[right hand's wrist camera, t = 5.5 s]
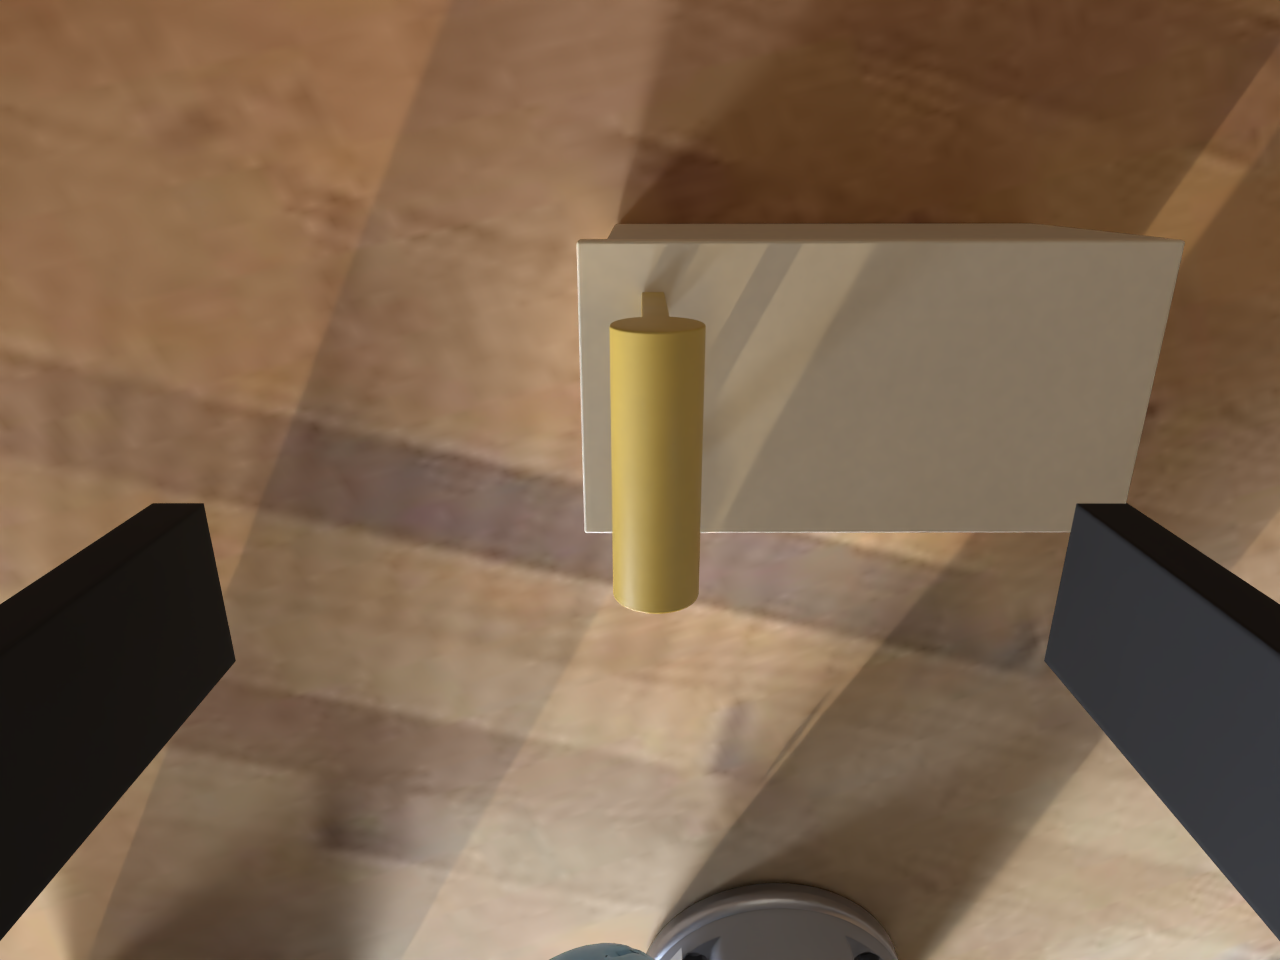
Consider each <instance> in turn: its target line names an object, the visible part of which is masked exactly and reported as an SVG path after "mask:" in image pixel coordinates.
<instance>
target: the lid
mask: <svg viewBox="0 0 1280 960" xmlns="http://www.w3.org/2000/svg"><path fill="white" fill-rule="evenodd" d="M1184 244H1185V241H1183V240H1178V239H1169V238H1053V239H580V240H579V241H578V242H577V278H578V314H579V350H580V386H581V423H582V459H583V495H584V530H585V532H586V533H612V537H613V594H614V597H615V599H616V600H617V601H618V602H619V603H620V604H621V605H623V606H624V607H626V608H628V609H631V610H634V611H638V612H643V613H651V614H663V613H671V612H675V611H679V610H682V609H684V608H687V607H688V606H690V605H691V604H693V603H694V602H695V601H696V599H697V597H698V594H699V560H700V533H857V532H1071V528H1072V523H1073V518H1074V513H1075V508H1076V503H1126V501H1127V496H1128V492H1129V487H1130V483H1131V479H1132V474H1133V470H1134V465H1135V461H1136V457H1137V452H1138V448H1139V443H1140V439H1141V434H1142V430H1143V426H1144V421H1145V417H1146V412H1147V408H1148V403H1149V399H1150V395H1151V390H1152V386H1153V381H1154V377H1155V373H1156V368H1157V364H1158V359H1159V355H1160V350H1161V346H1162V342H1163V337H1164V333H1165V328H1166V324H1167V319H1168V315H1169V311H1170V306H1171V302H1172V297H1173V293H1174V289H1175V284H1176V280H1177V275H1178V271H1179V266H1180V262H1181V258H1182V253H1183V249H1184Z"/></svg>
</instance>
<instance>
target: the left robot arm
mask: <svg viewBox="0 0 1280 960" xmlns="http://www.w3.org/2000/svg"><path fill="white" fill-rule="evenodd" d="M550 960H898V958H897V955H896V952H895V949H894V946H893V943H892V941H891V939H890V937H889V935H888V934H887V932H886V931H885V929H884V928H883V927H882V926H881V924H880V923H879V922H878V921H877V920H876V919H875V918H874V917H873V916H872V915H871V914H870V913H869V912H867V911H866V910H864V909H863V908H862V907H860V906H859V905H857V904H856V903H854V902H852V901H850V900H848V899H846V898H844V897H842V896H840V895H838V894H835V893H832V892H829V891H826V890H823V889H819V888H816V887H810V886H805V885H798V884H787V883H768V884H756V885H748V886H743V887H738V888H734V889H730V890H726V891H723V892H720V893H717V894H715V895H712V896H710V897H707V898H705V899H703V900H701V901H699V902H697V903H695V904H693V905H692V906H690V907H688V908H687V909H685V910H684V911H682V912H681V913H679V914H678V915H677V916H676V917H674V918H673V919H672V920H671V921H670V922H669V923H668V924H667V925H666V926H665V927H664V928H663V929H662V930H661V931H660V932H659V934H658V935H657V936H656V938H655V939H654V941H653V942H652V944H651V945H650V947H649V949H648V951H647V953H646V954H645V953H644V952H642V951H640V950H637V949H633V948H631V947H629V946H626V945H621V944H615V943H600V944H593V945H586V946H582V947H578V948H575V949H572V950H569V951H567V952H564V953H562V954H560V955H557V956H555V957H553V958H552V959H550Z"/></svg>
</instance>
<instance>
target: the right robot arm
mask: <svg viewBox="0 0 1280 960" xmlns="http://www.w3.org/2000/svg"><path fill="white" fill-rule="evenodd" d="M235 661H236V660H235V655H234V650H233V645H232V640H231V635H230V631H229V626H228V621H227V616H226V611H225V606H224V601H223V596H222V591H221V586H220V582H219V577H218V572H217V567H216V562H215V557H214V552H213V547H212V542H211V537H210V533H209V528H208V523H207V518H206V513H205V508H204V503H153V504H151V505H150V506H148V507H147V508H145V509H143V510H142V511H140V512H139V513H137V514H136V515H134V516H133V517H131V518H130V519H128V520H127V521H125V522H124V523H122V524H121V525H119V526H118V527H116V528H115V529H113V530H112V531H110V532H109V533H107V534H106V535H104V536H103V537H101V538H100V539H98V540H97V541H95V542H94V543H92V544H91V545H89V546H88V547H86V548H85V549H83V550H82V551H80V552H79V553H77V554H76V555H74V556H73V557H71V558H70V559H68V560H67V561H65V562H64V563H62V564H61V565H59V566H58V567H56V568H55V569H53V570H52V571H50V572H48V573H47V574H45V575H44V576H42V577H41V578H39V579H38V580H36V581H35V582H33V583H32V584H30V585H29V586H27V587H26V588H24V589H23V590H21V591H20V592H18V593H17V594H15V595H14V596H12V597H11V598H9V599H8V600H6V601H5V602H3V603H2V604H0V941H1V939H2V938H3V937H4V936H5V935H6V933H7V932H8V931H9V930H10V929H11V927H12V926H13V925H14V924H15V923H16V921H17V920H18V919H19V918H20V917H21V916H22V914H23V913H24V912H25V911H26V910H27V908H28V907H29V906H30V905H31V904H32V902H33V901H34V900H35V899H36V898H37V897H38V895H39V894H40V893H41V892H42V891H43V889H44V888H45V887H46V886H47V885H48V883H49V882H50V881H51V880H52V879H53V877H54V876H55V875H56V874H57V873H58V872H59V870H60V869H61V868H62V867H63V866H64V864H65V863H66V862H67V861H68V860H69V858H70V857H71V856H72V855H73V854H74V853H75V851H76V850H77V849H78V848H79V847H80V845H81V844H82V843H83V842H84V841H85V839H86V838H87V837H88V836H89V835H90V834H91V832H92V831H93V830H94V829H95V828H96V826H97V825H98V824H99V823H100V822H101V820H102V819H103V818H104V817H105V816H106V814H107V813H108V812H109V811H110V810H111V809H112V807H113V806H114V805H115V804H116V803H117V801H118V800H119V799H120V798H121V797H122V795H123V794H124V793H125V792H126V791H127V790H128V788H129V787H130V786H131V785H132V784H133V782H134V781H135V780H136V779H137V778H138V776H139V775H140V774H141V773H142V772H143V771H144V769H145V768H146V767H147V766H148V765H149V763H150V762H151V761H152V760H153V759H154V757H155V756H156V755H157V754H158V753H159V751H160V750H161V749H162V748H163V747H164V746H165V744H166V743H167V742H168V741H169V740H170V738H171V737H172V736H173V735H174V734H175V732H176V731H177V730H178V729H179V728H180V727H181V725H182V724H183V723H184V722H185V721H186V719H187V718H188V717H189V716H190V715H191V713H192V712H193V711H194V710H195V709H196V707H197V706H198V705H199V704H200V703H201V702H202V700H203V699H204V698H205V697H206V696H207V694H208V693H209V692H210V691H211V690H212V688H213V687H214V686H215V685H216V684H217V683H218V681H219V680H220V679H221V678H222V677H223V675H224V674H225V673H226V672H227V671H228V669H229V668H230V667H231V666H232V665H233V664H234V662H235ZM1044 661H1045V662H1046V664H1047V665H1048V666H1049V667H1050V668H1051V669H1052V671H1053V672H1054V673H1055V674H1056V675H1057V677H1058V678H1059V679H1060V680H1061V681H1062V683H1063V684H1064V685H1065V686H1066V687H1067V688H1068V690H1069V691H1070V692H1071V693H1072V694H1073V696H1074V697H1075V698H1076V699H1077V700H1078V702H1079V703H1080V704H1081V705H1082V706H1083V707H1084V709H1085V710H1086V711H1087V712H1088V713H1089V715H1090V716H1091V717H1092V718H1093V719H1094V721H1095V722H1096V723H1097V724H1098V725H1099V727H1100V728H1101V729H1102V730H1103V731H1104V732H1105V734H1106V735H1107V736H1108V737H1109V738H1110V740H1111V741H1112V742H1113V743H1114V744H1115V746H1116V747H1117V748H1118V749H1119V750H1120V751H1121V753H1122V754H1123V755H1124V756H1125V757H1126V759H1127V760H1128V761H1129V762H1130V763H1131V765H1132V766H1133V767H1134V768H1135V769H1136V771H1137V772H1138V773H1139V774H1140V775H1141V776H1142V778H1143V779H1144V780H1145V781H1146V782H1147V784H1148V785H1149V786H1150V787H1151V788H1152V790H1153V791H1154V792H1155V793H1156V794H1157V795H1158V797H1159V798H1160V799H1161V800H1162V801H1163V803H1164V804H1165V805H1166V806H1167V807H1168V809H1169V810H1170V811H1171V812H1172V813H1173V814H1174V816H1175V817H1176V818H1177V819H1178V820H1179V822H1180V823H1181V824H1182V825H1183V826H1184V828H1185V829H1186V830H1187V831H1188V832H1189V834H1190V835H1191V836H1192V837H1193V838H1194V839H1195V841H1196V842H1197V843H1198V844H1199V845H1200V847H1201V848H1202V849H1203V850H1204V851H1205V853H1206V854H1207V855H1208V856H1209V857H1210V858H1211V860H1212V861H1213V862H1214V863H1215V864H1216V866H1217V867H1218V868H1219V869H1220V870H1221V872H1222V873H1223V874H1224V875H1225V876H1226V877H1227V879H1228V880H1229V881H1230V882H1231V883H1232V885H1233V886H1234V887H1235V888H1236V889H1237V891H1238V892H1239V893H1240V894H1241V895H1242V897H1243V898H1244V899H1245V900H1246V901H1247V902H1248V904H1249V905H1250V906H1251V907H1252V908H1253V910H1254V911H1255V912H1256V913H1257V914H1258V916H1259V917H1260V918H1261V919H1262V920H1263V921H1264V923H1265V924H1266V925H1267V926H1268V927H1269V929H1270V930H1271V931H1272V932H1273V933H1274V935H1275V936H1276V937H1277V938H1278V939H1279V941H1280V604H1278V603H1277V602H1275V601H1274V600H1272V599H1271V598H1269V597H1268V596H1266V595H1265V594H1263V593H1262V592H1260V591H1259V590H1257V589H1256V588H1254V587H1253V586H1251V585H1250V584H1248V583H1247V582H1245V581H1244V580H1242V579H1241V578H1239V577H1238V576H1236V575H1235V574H1233V573H1232V572H1230V571H1228V570H1227V569H1225V568H1224V567H1222V566H1221V565H1219V564H1218V563H1216V562H1215V561H1213V560H1212V559H1210V558H1209V557H1207V556H1206V555H1204V554H1203V553H1201V552H1200V551H1198V550H1197V549H1195V548H1194V547H1192V546H1191V545H1189V544H1188V543H1186V542H1185V541H1183V540H1182V539H1180V538H1179V537H1177V536H1176V535H1174V534H1173V533H1171V532H1170V531H1168V530H1167V529H1165V528H1164V527H1162V526H1161V525H1159V524H1158V523H1156V522H1155V521H1153V520H1152V519H1150V518H1149V517H1147V516H1146V515H1144V514H1143V513H1141V512H1140V511H1138V510H1137V509H1135V508H1133V507H1132V506H1130V505H1129V504H1127V503H1076V508H1075V513H1074V518H1073V523H1072V528H1071V533H1070V537H1069V542H1068V547H1067V552H1066V557H1065V562H1064V567H1063V572H1062V577H1061V582H1060V586H1059V591H1058V596H1057V601H1056V606H1055V611H1054V616H1053V621H1052V626H1051V630H1050V635H1049V640H1048V645H1047V650H1046V655H1045V660H1044Z"/></svg>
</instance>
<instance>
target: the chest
mask: <svg viewBox="0 0 1280 960" xmlns="http://www.w3.org/2000/svg"><path fill="white" fill-rule="evenodd" d="M1053 238H1161V237H1151V236H1142V235H1133V234H1124V233H1115V232H1106V231H1097V230H1088V229H1079V228H1070V227H1061V226H1052V225H1043V224H1033V223H971V224H616V225H615V226H614V228H613V230H612V231H611V233H610V235H609V237H608V239H1053Z"/></svg>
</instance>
